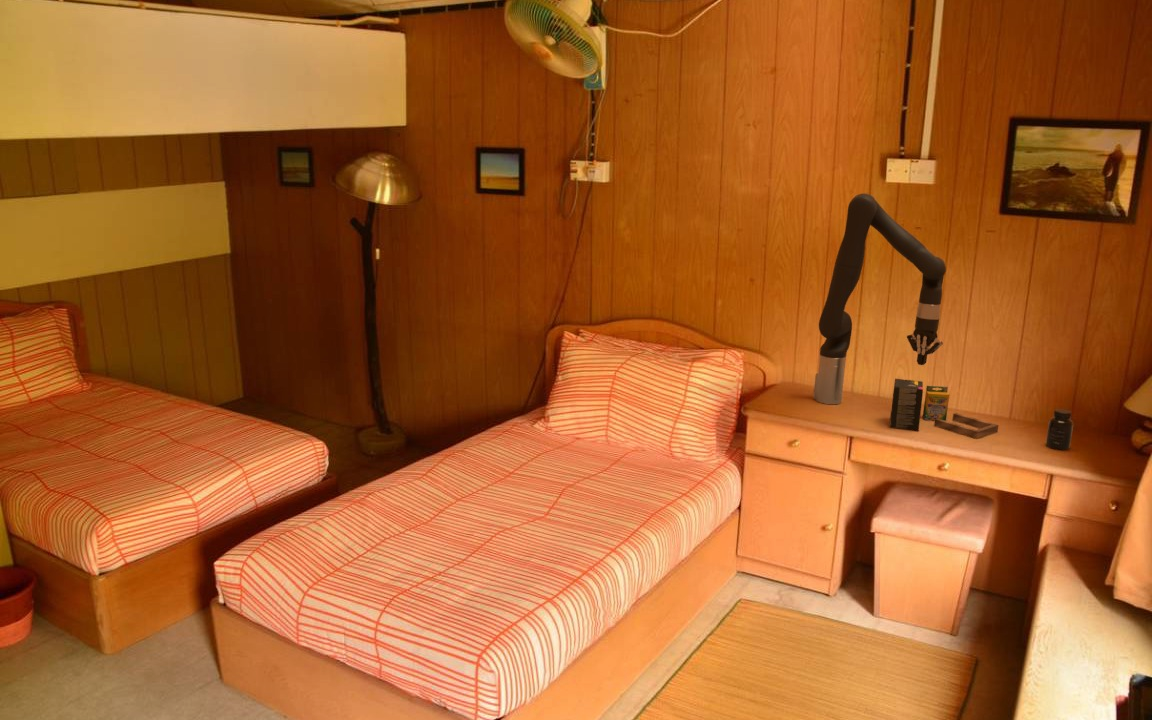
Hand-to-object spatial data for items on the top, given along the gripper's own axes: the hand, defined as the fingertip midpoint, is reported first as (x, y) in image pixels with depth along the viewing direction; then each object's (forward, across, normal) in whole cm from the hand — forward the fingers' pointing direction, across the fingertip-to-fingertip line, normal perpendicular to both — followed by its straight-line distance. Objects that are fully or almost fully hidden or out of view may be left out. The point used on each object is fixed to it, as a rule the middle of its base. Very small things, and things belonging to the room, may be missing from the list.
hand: (921, 364), depth 318 cm
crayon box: (+18, +8, -1) cm, 20 cm away
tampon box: (+18, +6, -15) cm, 24 cm away
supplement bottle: (+17, +46, +8) cm, 50 cm away
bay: (+17, +19, -1) cm, 26 cm away
